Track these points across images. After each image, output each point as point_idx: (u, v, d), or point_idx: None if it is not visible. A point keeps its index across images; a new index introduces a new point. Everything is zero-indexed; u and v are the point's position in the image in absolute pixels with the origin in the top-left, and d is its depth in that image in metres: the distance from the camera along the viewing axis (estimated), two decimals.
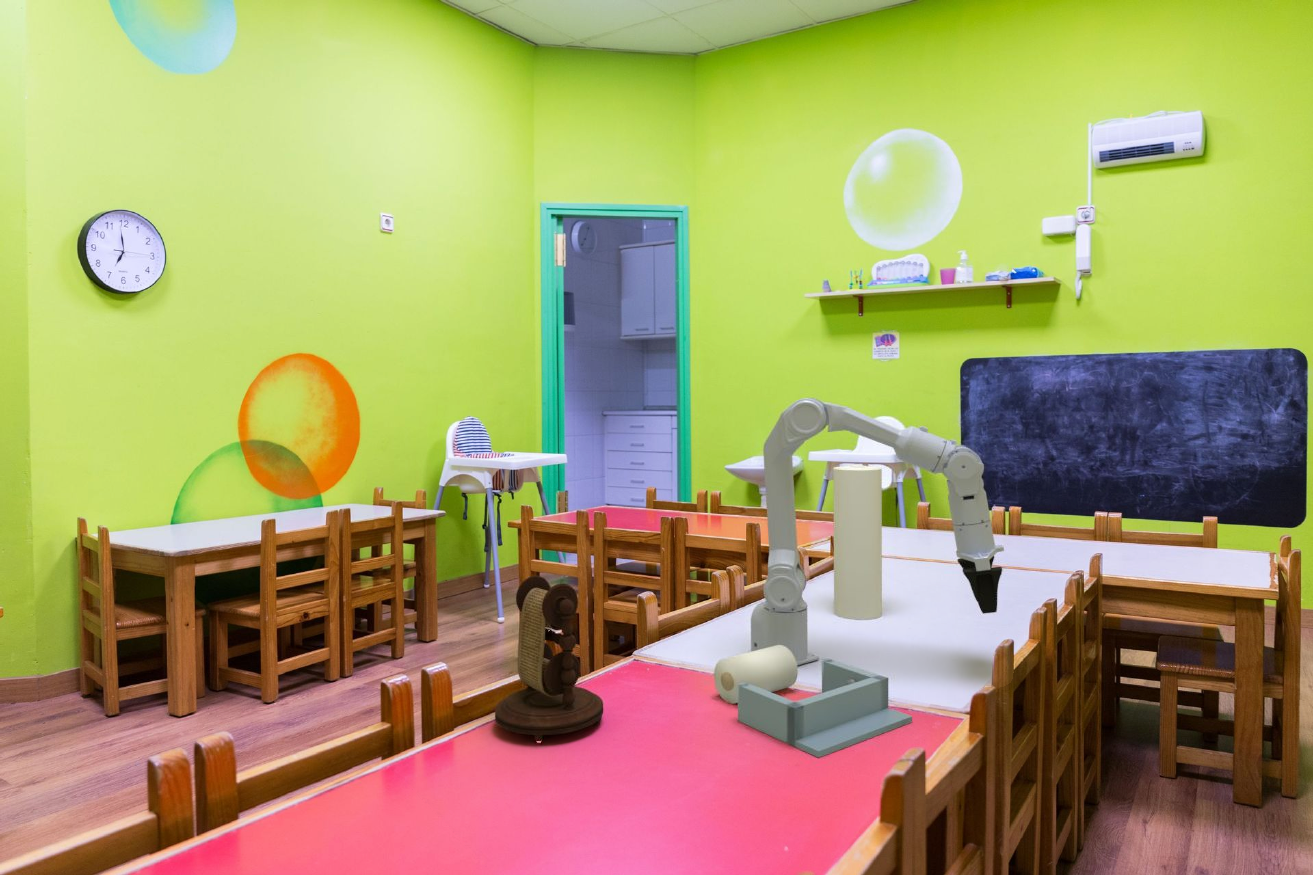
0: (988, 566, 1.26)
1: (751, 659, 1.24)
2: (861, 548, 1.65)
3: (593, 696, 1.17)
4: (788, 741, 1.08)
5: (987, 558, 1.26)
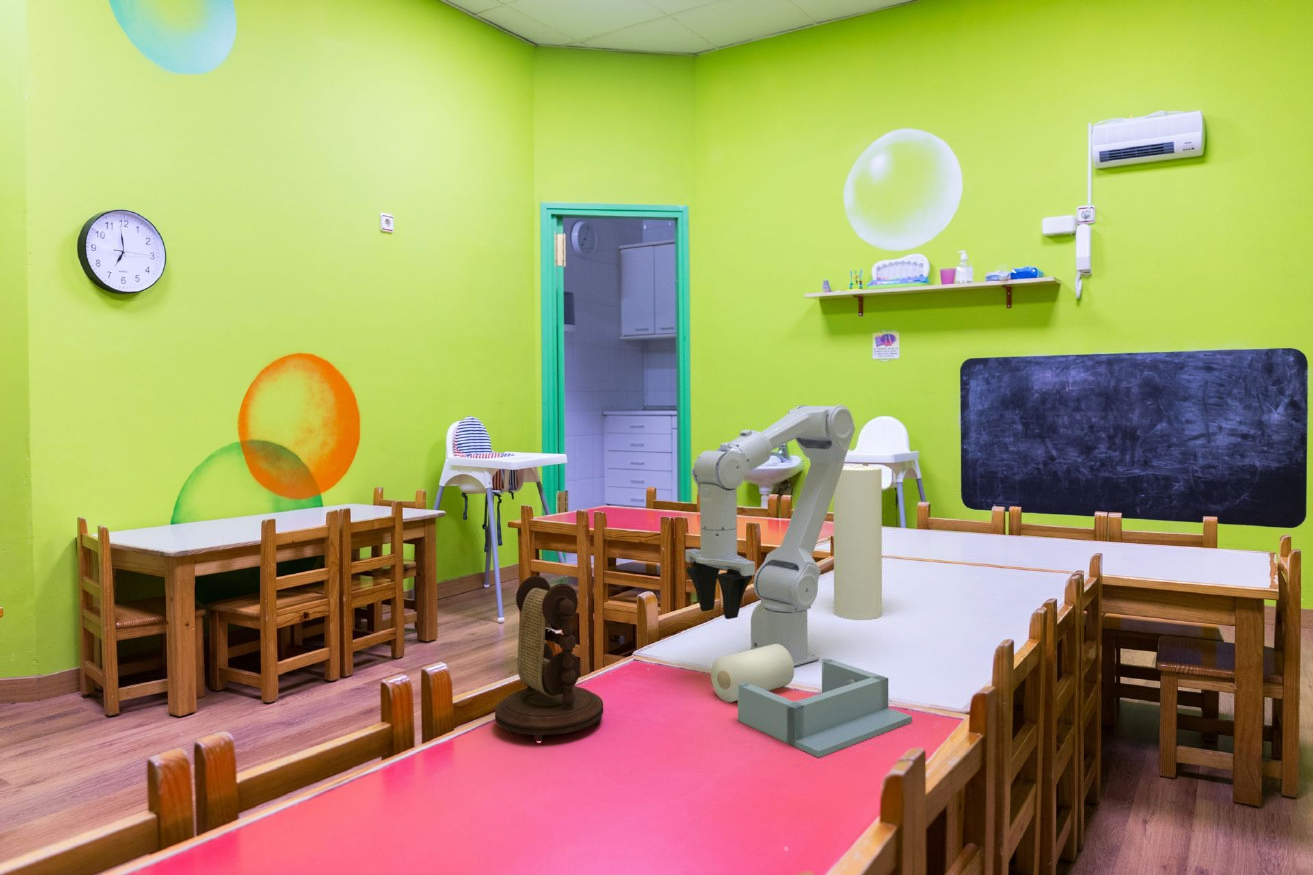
0: None
1: (744, 655, 1.25)
2: (861, 548, 1.65)
3: (593, 696, 1.17)
4: (788, 741, 1.08)
5: (686, 550, 1.37)
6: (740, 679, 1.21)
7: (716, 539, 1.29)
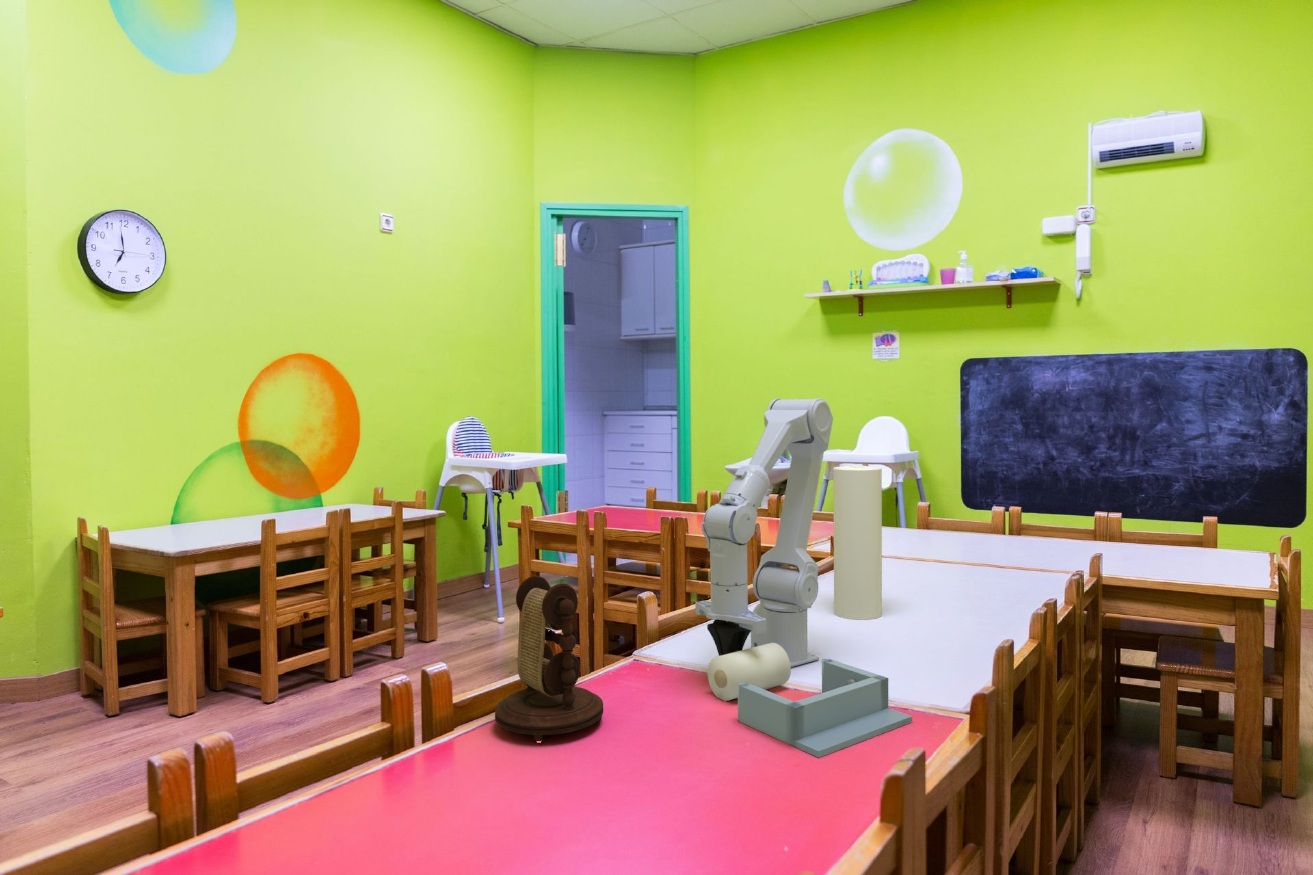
0: None
1: (737, 652, 1.26)
2: (861, 548, 1.65)
3: (593, 696, 1.17)
4: (788, 741, 1.08)
5: (696, 603, 1.36)
6: (735, 672, 1.22)
7: (726, 594, 1.27)
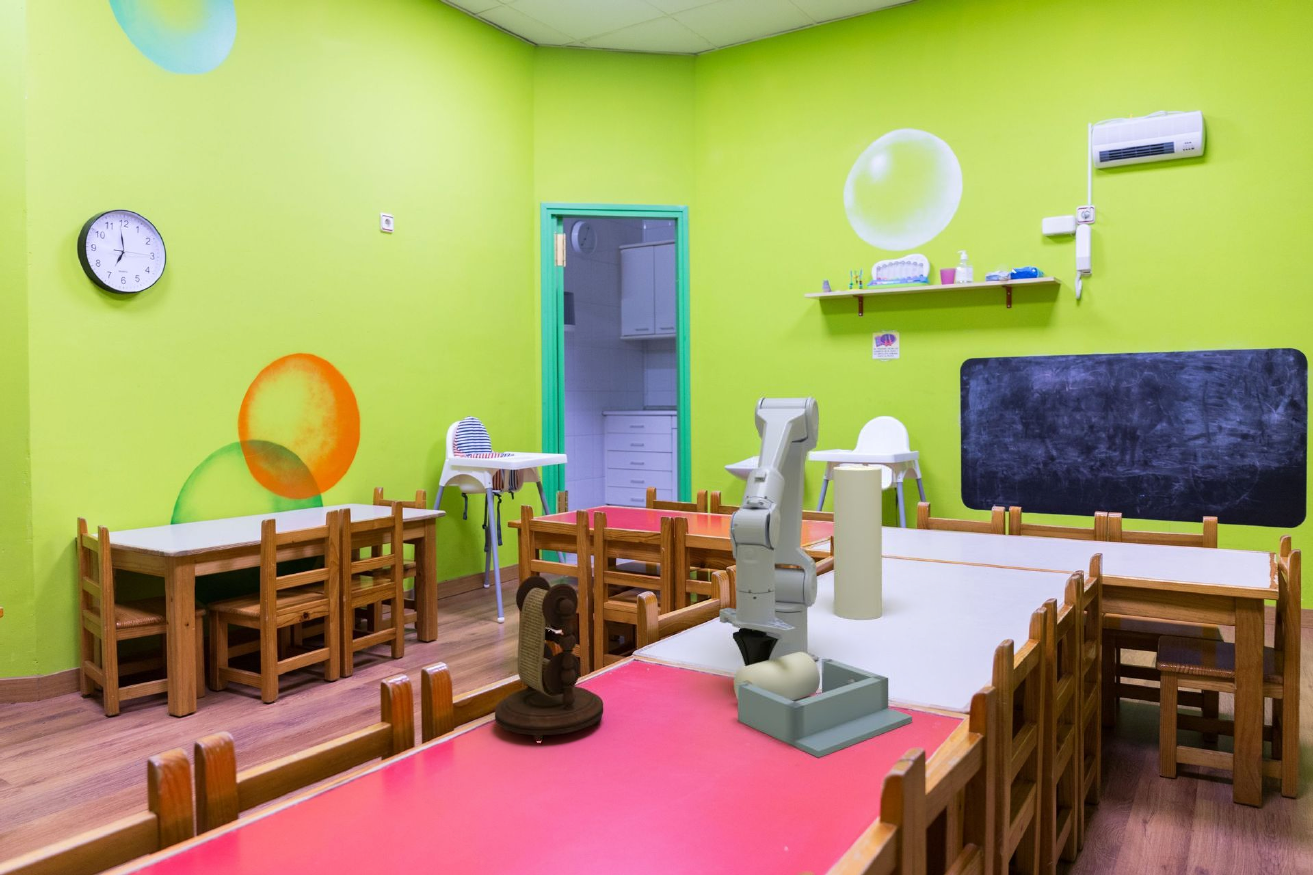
0: None
1: None
2: (861, 548, 1.65)
3: (593, 696, 1.17)
4: (788, 741, 1.08)
5: (720, 610, 1.31)
6: None
7: (753, 602, 1.23)
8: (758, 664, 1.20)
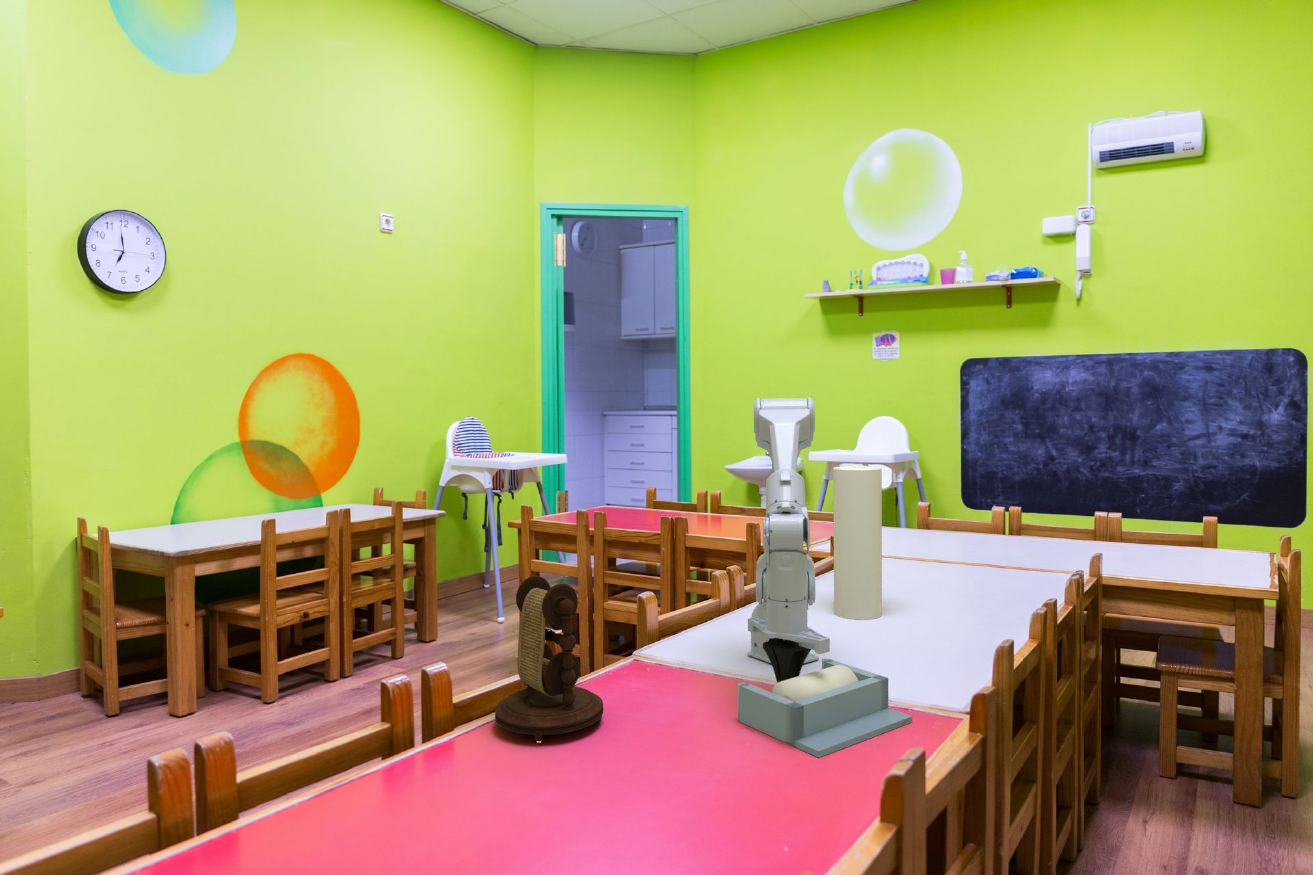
0: None
1: None
2: (861, 548, 1.65)
3: (593, 696, 1.17)
4: (788, 741, 1.08)
5: (748, 619, 1.26)
6: None
7: (785, 611, 1.17)
8: None
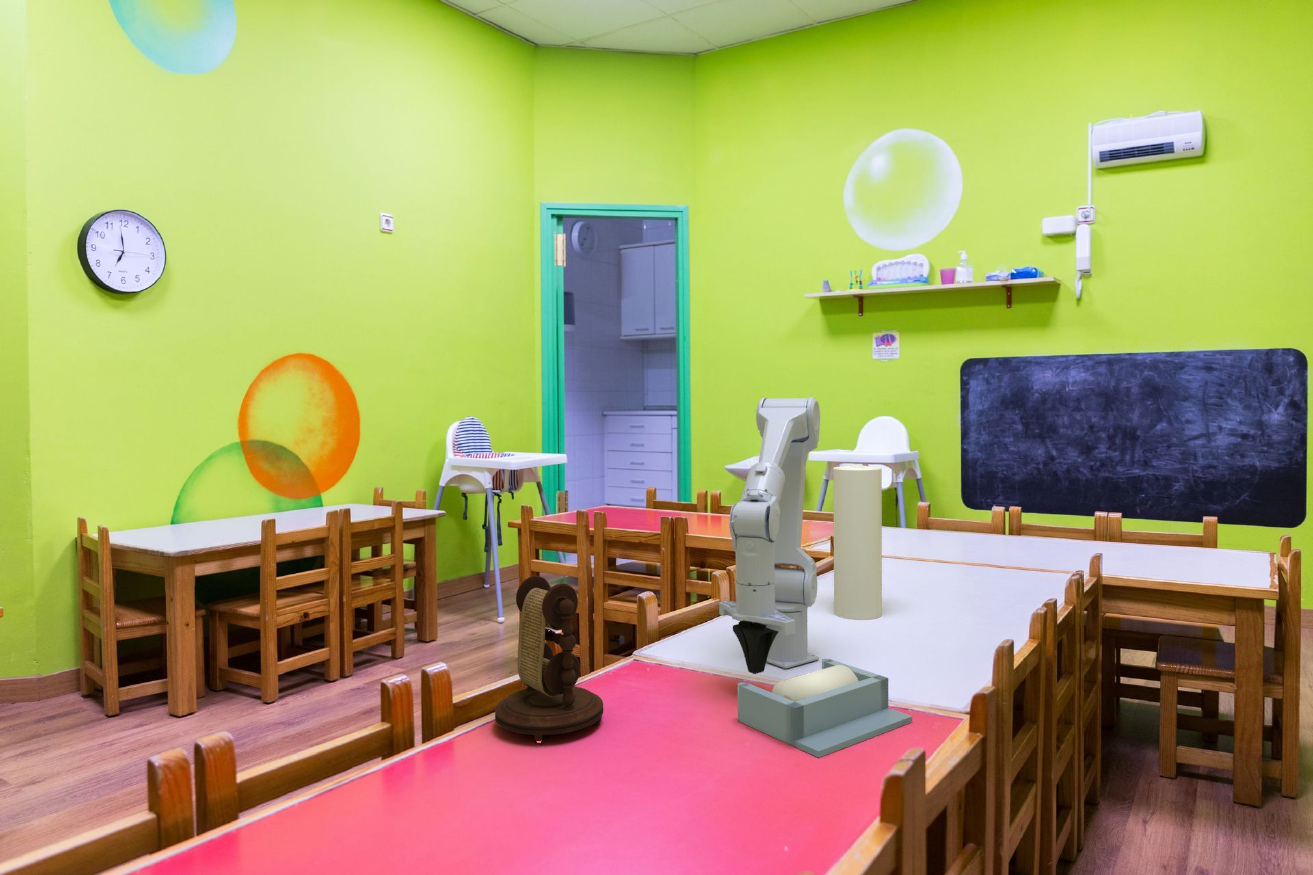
0: None
1: None
2: (861, 548, 1.65)
3: (593, 696, 1.17)
4: (788, 741, 1.08)
5: (720, 603, 1.31)
6: None
7: (753, 595, 1.23)
8: None
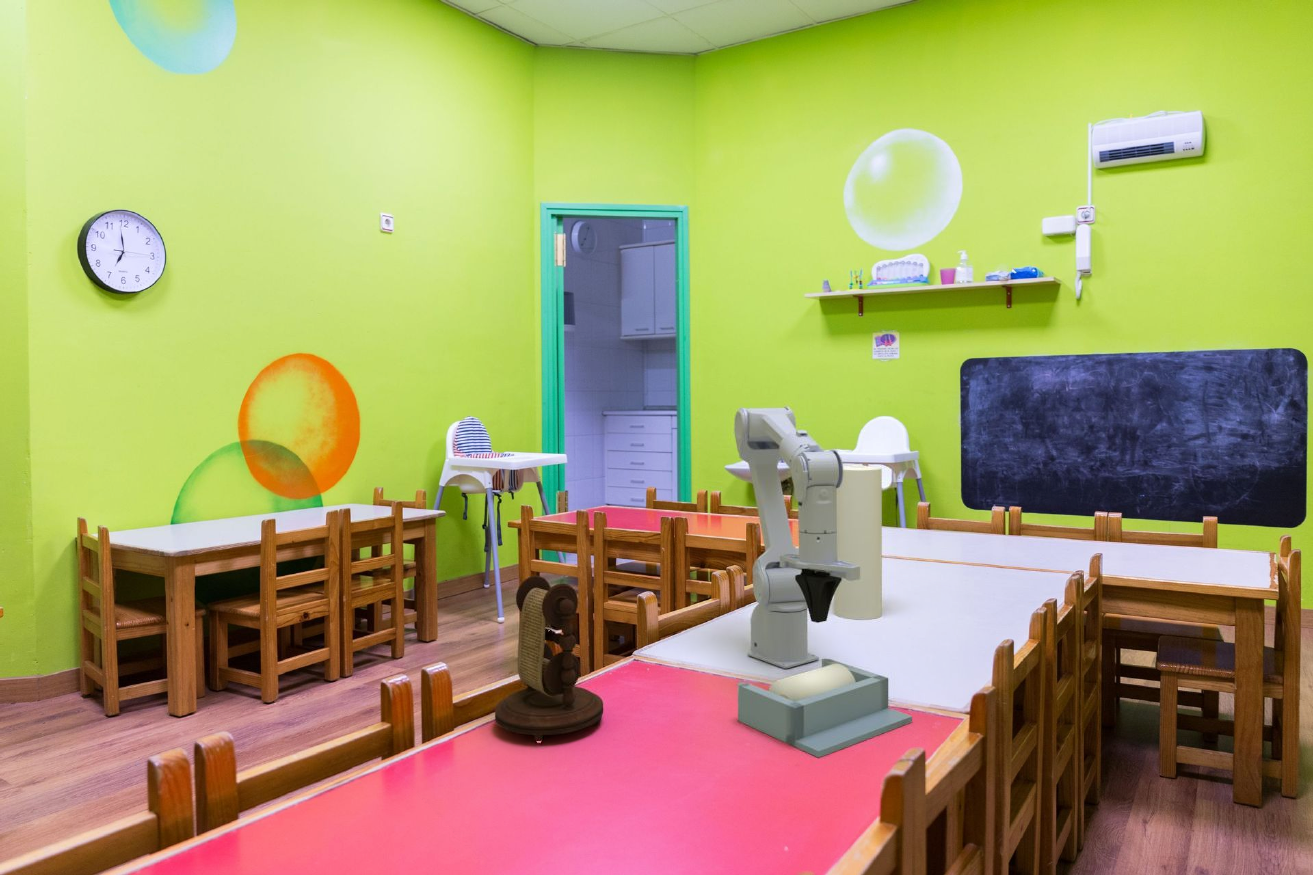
0: None
1: None
2: (861, 548, 1.65)
3: (593, 696, 1.17)
4: (788, 741, 1.08)
5: (780, 555, 1.32)
6: None
7: (817, 542, 1.24)
8: None
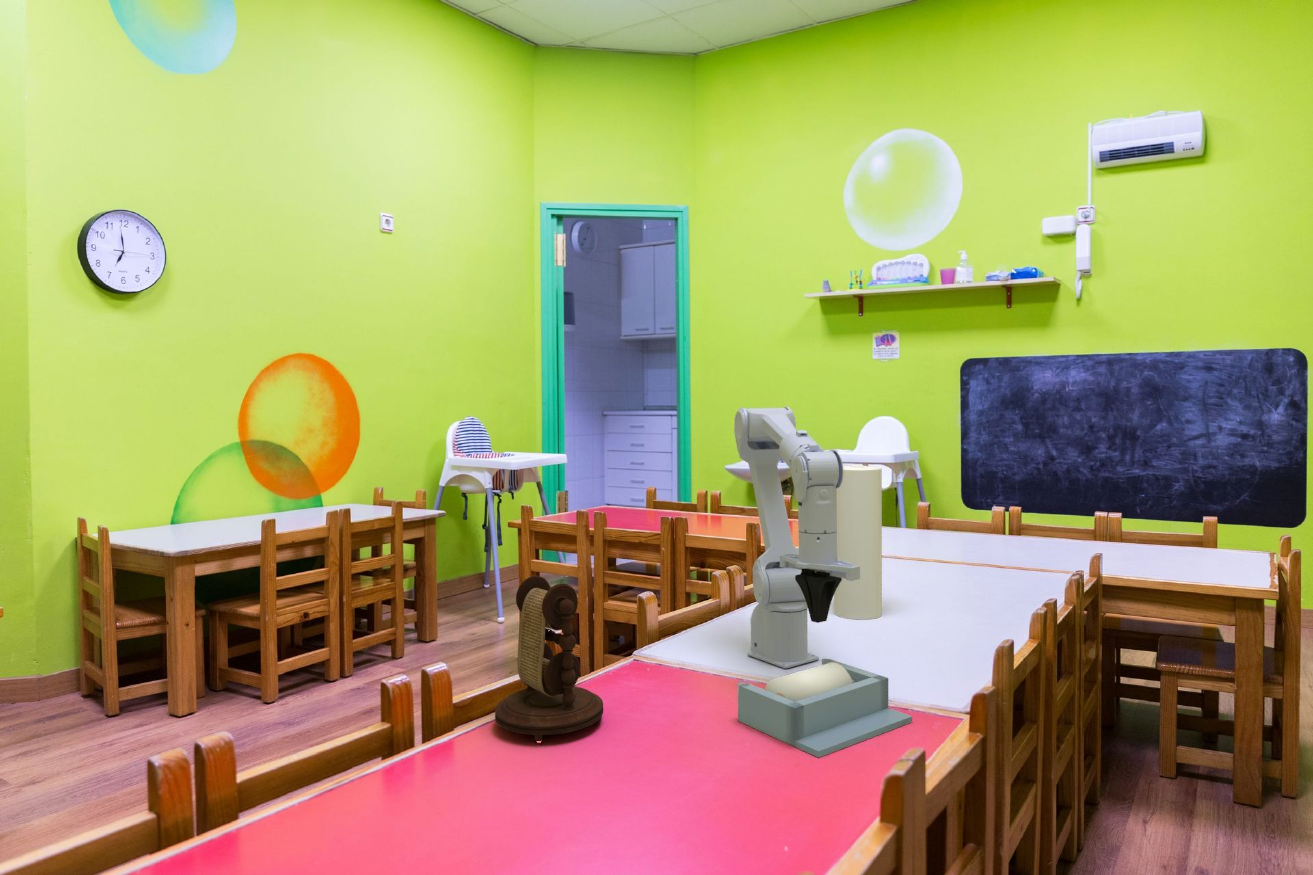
0: None
1: None
2: (861, 548, 1.65)
3: (593, 696, 1.17)
4: (788, 741, 1.08)
5: (780, 555, 1.32)
6: None
7: (817, 542, 1.24)
8: None
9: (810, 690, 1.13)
